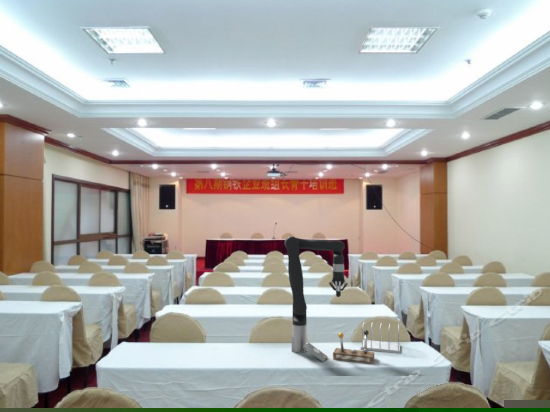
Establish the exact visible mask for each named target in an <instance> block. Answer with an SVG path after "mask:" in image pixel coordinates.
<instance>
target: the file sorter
mask: <svg viewBox="0 0 550 412" xmlns="http://www.w3.org/2000/svg"><path fill="white" fill-rule="evenodd" d="M379 325H380V326H379V340H374V323H373V322H371V326H370V330H371V331H370V339H367V351H370V352H383V353H390V354H391V353H393V354H401V343H400V324H399V323H398V324H397V342H394V341H391V323H389V325H388V341H382V338H383V337H382V325H383V324H382V322H381V323H380V324H379ZM365 330H366V322H365V321H363V324H362V328H361V344H360V350H361V351H364V342H365V335H364V331H365Z"/></svg>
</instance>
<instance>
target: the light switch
mask: <svg viewBox="0 0 550 412" xmlns="http://www.w3.org/2000/svg"><path fill="white" fill-rule="evenodd" d="M304 348H305V349H306V350H307V351H306V352H308V353H310V354H312V355H313V356H314V357H315V358H317V359H318V360H320V361H321V362H322V363H323V362H325V361H326V360H327V359H328V357H329V356H328V355H327V354H326V353H324V352H323V351H321V350H320V349H318V348H317V347H316V346H314V345H313V344H312V343H310V342H308V343H307V345H305V346H304Z"/></svg>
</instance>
